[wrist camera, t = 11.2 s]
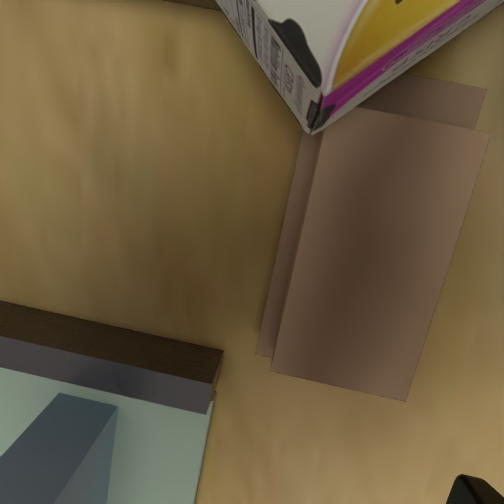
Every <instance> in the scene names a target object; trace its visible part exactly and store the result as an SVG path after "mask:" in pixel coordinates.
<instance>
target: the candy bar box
mask: <svg viewBox="0 0 504 504" xmlns="http://www.w3.org/2000/svg"><path fill="white" fill-rule="evenodd" d="M214 1H215V2H216V4H217V5H218V6H219V8H220V9H221V11H222V12H223V14H224V15H225V16H226V18H227V19H228V21H229V22H230V24H231V25H232V27H233V28H234V30H235V31H236V32H237V34H238V35H239V37H240V38H241V40H242V41H243V43H244V44H245V45H246V47H247V48H248V50H249V51H250V53H251V54H252V55H253V57H254V58H255V60H256V61H257V63H258V65H259V66H260V68H261V70H262V71H263V72H264V74H265V75H266V76H267V78H268V79H269V81H270V83H271V84H272V86H273V87H274V88H275V90H276V91H277V93H278V94H279V95H280V97H281V98H282V99H283V100H284V102H285V103H286V104H287V106H288V107H289V109H290V111H291V112H292V113H293V115H294V116H295V118H296V119H297V121H298V122H299V124H300V125H301V127H302V128H303V130H304V131H306V132H307V133H308V134H310V135H314V134H315V133H317V132H319V131H321V130H323V129H324V128H326V127H327V126H329V125H330V124H332V123H333V122H335V121H336V120H338V119H339V118H340V117H342V116H343V115H345V114H346V113H348V112H349V111H351V110H352V109H353V108H355V107H356V106H358V105H359V104H360V103H362V102H363V101H365V100H366V99H367V98H369V97H370V96H372V95H373V94H374V93H376V92H377V91H379V90H380V89H381V88H383V87H384V86H386V85H387V84H389V83H390V82H391V81H393V80H394V79H396V78H397V77H399V76H400V75H401V74H403V73H404V72H405V71H407V70H408V69H410V68H411V67H412V66H414V65H415V64H417V63H418V62H419V61H421V60H422V59H424V58H425V57H427V56H428V55H429V54H431V53H432V52H434V51H435V50H437V49H438V48H439V47H441V46H442V45H444V44H445V43H447V42H448V41H449V40H451V39H452V38H454V37H455V36H456V35H458V34H459V33H461V32H462V31H464V30H465V29H466V28H468V27H469V26H471V25H472V24H474V23H475V22H477V21H478V20H479V19H481V18H482V17H484V16H485V15H487V14H488V13H489V12H491V11H492V10H494V9H495V8H497V7H498V6H499V5H501V4H502V3H504V0H214Z"/></svg>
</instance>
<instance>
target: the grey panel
mask: <svg viewBox="0 0 504 504" xmlns="http://www.w3.org/2000/svg"><path fill="white" fill-rule="evenodd" d="M117 412H118V406H115V405H111V404H107V403H102V402H98V401H94V400H89V399H85V398H81V397H76V396H72V395H68V394H63V393H58V394H57V396H56V397H55V398H54V399H53V400H52V401H51V402H50V403H49V404H48V405H47V406H46V408H45V409H44V410H43V411H42V412H41V413H40V414H39V415H38V416H37V417H36V419H35V420H34V421H33V422H32V423H31V424H30V425H29V426H28V427H27V428H26V430H25V431H24V432H23V433H22V434H21V435H20V436H19V437H18V438H17V439H16V440H15V442H14V443H13V444H12V445H11V446H10V447H9V448H8V449H7V450H6V451H5V453H4V454H3V455H2V456H1V457H0V504H106V502H107V494H108V486H109V478H110V469H111V461H112V453H113V445H114V437H115V429H116V421H117Z"/></svg>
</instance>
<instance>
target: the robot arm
mask: <svg viewBox="0 0 504 504" xmlns="http://www.w3.org/2000/svg"><path fill="white" fill-rule="evenodd" d="M446 504H504V497H503V496H502V495H501V494H500V493H498V492H497V491H496V490H495V489H494V488H493V487H492V486H491V485H489V484H488V483H487V482H486V481H485V480H483V479H481V478H477V477H473V476H468V475H464V474H461V475H458V476H457V477H456V479H455V481H454V483H453V486H452V489H451V491H450V494H449V497H448V499H447V502H446Z"/></svg>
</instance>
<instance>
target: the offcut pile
mask: <svg viewBox="0 0 504 504" xmlns="http://www.w3.org/2000/svg"><path fill="white" fill-rule="evenodd" d="M486 90H487V89H484V88H478V87H473V86H468V85H463V84H457V83H452V82H447V81H441V80H436V79H431V78H426V77H420V76H415V75H410V74H404V73H403V74H401V75H400V76H399V77H397V78H396V79H394V80H393V81H391V82H390V83H389V84H387V85H386V86H384V87H383V88H381V89H380V90H379V91H377V92H376V93H374V94H373V95H372V96H370V97H369V98H367V99H366V100H365V101H363V102H362V103H360V104H359V105H358V106H356V107H355V108H353V109H352V110H351V111H349V112H348V113H346V114H345V115H343V116H342V117H340V118H339V119H338V120H336V121H335V122H333V123H332V124H330V125H329V126H327V127H326V128H324V129H323V130H321V131H319V132H317V133H315V134H314V135H310V134H308V133H307V132H306V131H304V130H303V132H302V136H301V141H300V146H299V151H298V155H297V160H296V165H295V170H294V174H293V179H292V184H291V188H290V193H289V198H288V203H287V207H286V212H285V217H284V221H283V226H282V231H281V236H280V240H279V245H278V250H277V254H276V259H275V264H274V269H273V273H272V278H271V283H270V287H269V292H268V297H267V302H266V306H265V311H264V316H263V320H262V325H261V330H260V335H259V339H258V344H257V349H256V353H255V355H260V356H264V357H269V358H272V363H271V370H270V371H271V372H276V373H280V374H285V375H289V376H293V377H298V378H302V379H307V380H311V381H316V382H320V383H325V384H329V385H333V386H338V387H342V388H347V389H351V390H356V391H360V392H364V393H369V394H373V395H378V396H382V397H387V398H391V399H395V400H400V401H404V402H406V399H407V396H408V393H409V389H410V386H411V383H412V380H413V377H414V374H415V371H416V368H417V364H418V361H419V358H420V355H421V352H422V349H423V346H424V343H425V339H426V336H427V333H428V330H429V327H430V324H431V321H432V318H433V314H434V311H435V308H436V305H437V302H438V299H439V296H440V293H441V289H442V286H443V283H444V280H445V277H446V274H447V271H448V268H449V264H450V261H451V258H452V255H453V252H454V249H455V246H456V243H457V239H458V236H459V233H460V230H461V227H462V224H463V221H464V218H465V214H466V211H467V208H468V205H469V202H470V199H471V196H472V193H473V189H474V186H475V183H476V180H477V177H478V174H479V171H480V168H481V165H482V161H483V158H484V155H485V152H486V149H487V146H488V143H489V140H490V136H491V133H489V132H483V131H478V130H474V129H475V126H476V123H477V120H478V116H479V113H480V110H481V107H482V103H483V100H484V97H485V94H486Z"/></svg>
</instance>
